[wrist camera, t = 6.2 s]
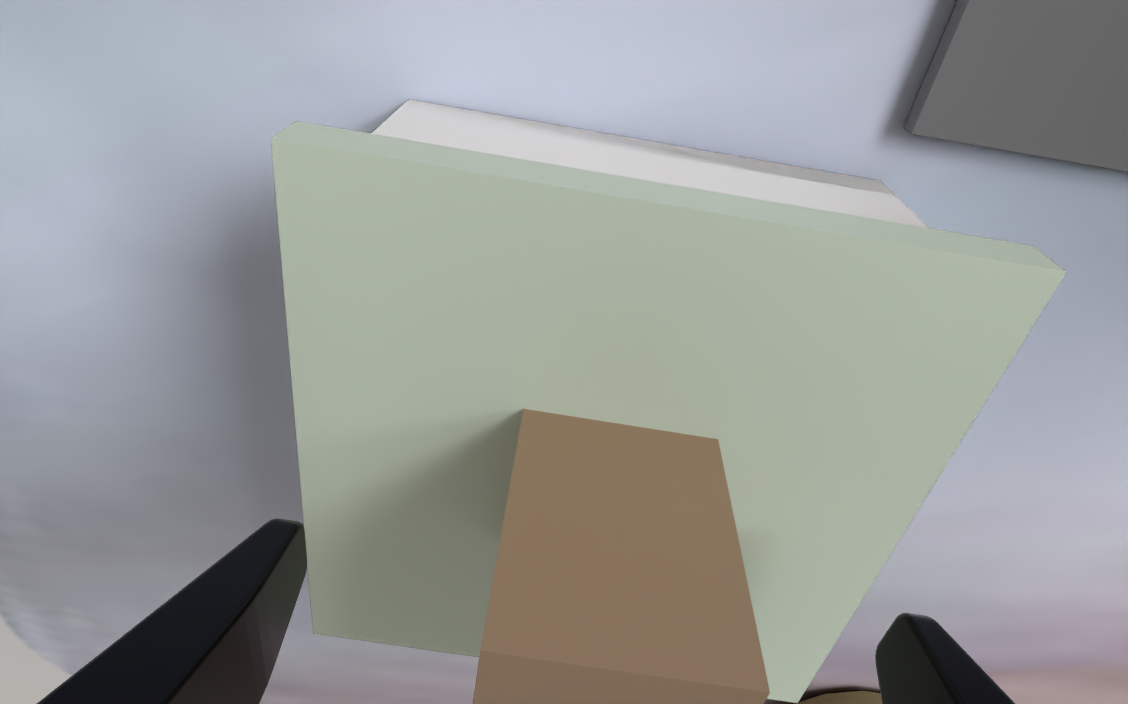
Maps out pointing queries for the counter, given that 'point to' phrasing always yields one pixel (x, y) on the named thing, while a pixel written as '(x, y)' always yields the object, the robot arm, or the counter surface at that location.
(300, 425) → the lid
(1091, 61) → the mat
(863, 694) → the squeeze bottle
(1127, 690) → the counter surface
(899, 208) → the white box
